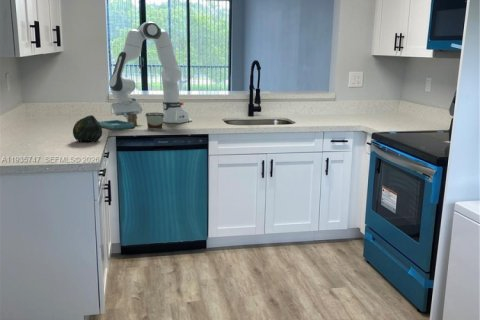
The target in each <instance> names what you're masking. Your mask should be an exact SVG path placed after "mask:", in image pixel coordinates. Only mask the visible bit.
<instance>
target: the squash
mask: <svg viewBox="0 0 480 320" xmlns="http://www.w3.org/2000/svg"><path fill="white" fill-rule="evenodd" d="M72 135H73V137H74V139H75V141H78V142H88V141H89V142H93V141H94V142H97V141H98V140H100V139H101V137H102V136H103V127H101V125H100V124H99V121H98V120H97V118H96V117H95V116H94V115H86V116H85V117H83V118H81V119H79V120H77V121H76V122H75V124H74V125H73V128H72Z"/></svg>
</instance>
